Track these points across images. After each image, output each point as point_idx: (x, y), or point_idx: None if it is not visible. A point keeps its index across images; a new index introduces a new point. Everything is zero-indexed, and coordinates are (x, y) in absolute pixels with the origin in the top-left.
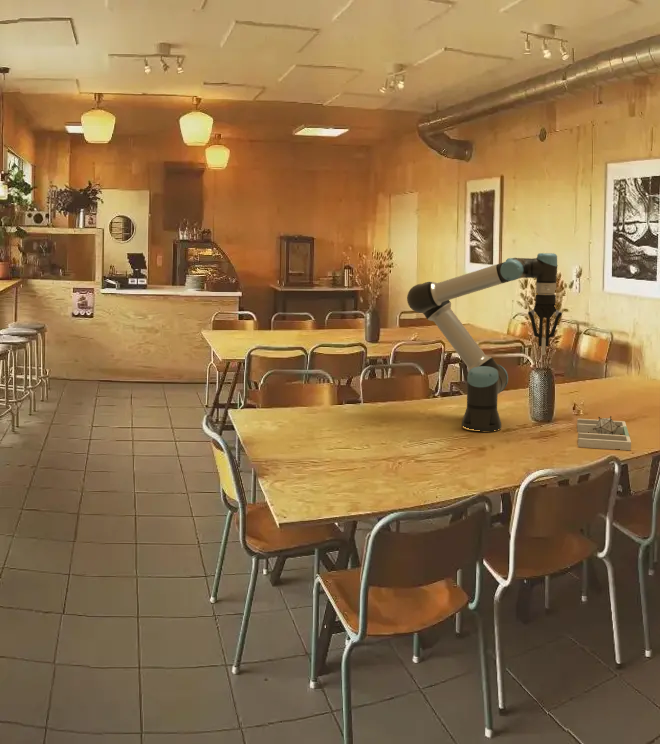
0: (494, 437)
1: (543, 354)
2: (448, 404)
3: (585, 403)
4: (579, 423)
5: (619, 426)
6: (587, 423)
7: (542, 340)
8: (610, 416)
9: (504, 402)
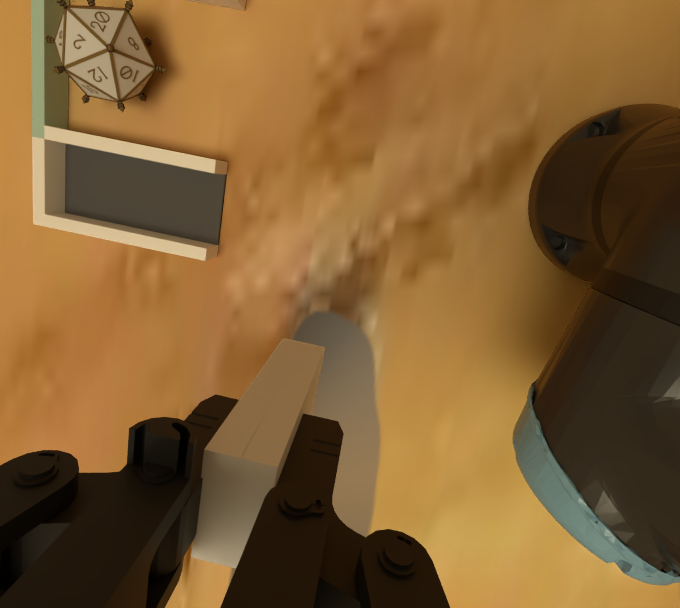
0: (597, 24)
1: (298, 343)
2: None
3: None
4: (204, 244)
5: (48, 36)
6: (175, 239)
7: (274, 439)
8: (57, 67)
9: None
